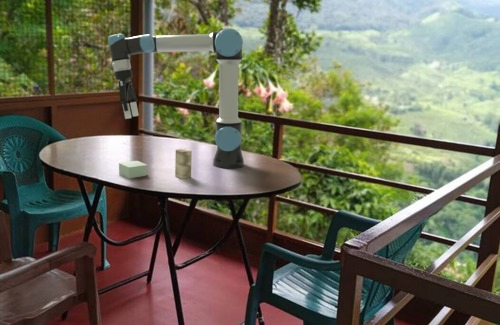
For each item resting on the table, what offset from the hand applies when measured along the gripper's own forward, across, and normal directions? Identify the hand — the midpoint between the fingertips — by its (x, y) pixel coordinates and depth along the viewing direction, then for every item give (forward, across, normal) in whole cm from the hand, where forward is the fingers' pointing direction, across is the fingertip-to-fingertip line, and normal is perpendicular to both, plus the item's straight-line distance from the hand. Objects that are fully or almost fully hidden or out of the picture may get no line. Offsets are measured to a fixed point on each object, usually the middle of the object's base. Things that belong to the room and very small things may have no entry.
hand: (132, 117), depth 232 cm
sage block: (+25, +10, -2) cm, 27 cm away
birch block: (+29, +9, +19) cm, 36 cm away
